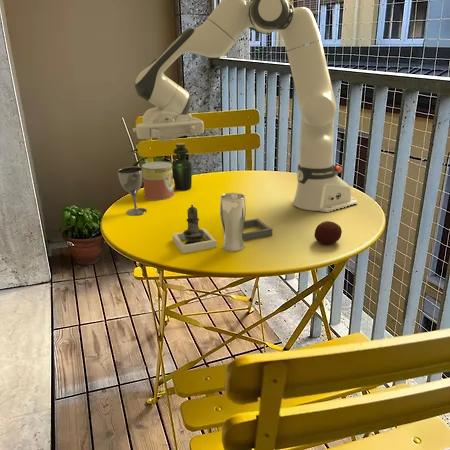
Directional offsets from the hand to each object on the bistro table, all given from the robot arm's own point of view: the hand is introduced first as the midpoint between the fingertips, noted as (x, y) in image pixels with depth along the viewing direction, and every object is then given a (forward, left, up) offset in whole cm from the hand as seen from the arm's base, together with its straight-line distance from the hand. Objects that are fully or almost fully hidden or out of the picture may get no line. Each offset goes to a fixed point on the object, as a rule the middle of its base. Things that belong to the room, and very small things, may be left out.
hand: (176, 133), depth 129 cm
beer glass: (-9, +18, -30) cm, 36 cm away
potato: (-35, +26, -30) cm, 53 cm away
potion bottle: (-13, -43, -30) cm, 54 cm away
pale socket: (0, +11, -30) cm, 32 cm away
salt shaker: (0, +11, -30) cm, 32 cm away
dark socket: (-18, +10, -30) cm, 36 cm away
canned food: (-2, -38, -30) cm, 48 cm away
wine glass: (+10, -23, -30) cm, 39 cm away
